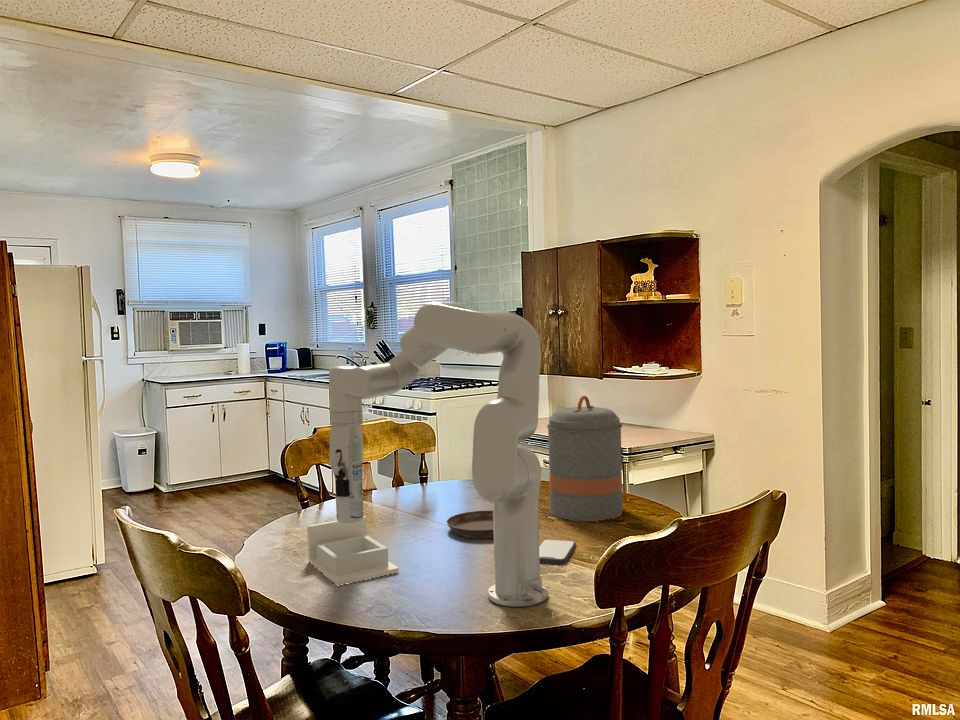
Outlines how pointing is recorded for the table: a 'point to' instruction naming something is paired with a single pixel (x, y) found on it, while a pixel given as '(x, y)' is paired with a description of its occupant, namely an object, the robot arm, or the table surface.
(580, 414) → the storage container
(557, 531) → the table surface
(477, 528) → the plant saucer
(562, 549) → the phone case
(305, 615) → the table surface
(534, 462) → the robot arm
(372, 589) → the table surface
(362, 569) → the white open box
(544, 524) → the table surface
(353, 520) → the spray can
